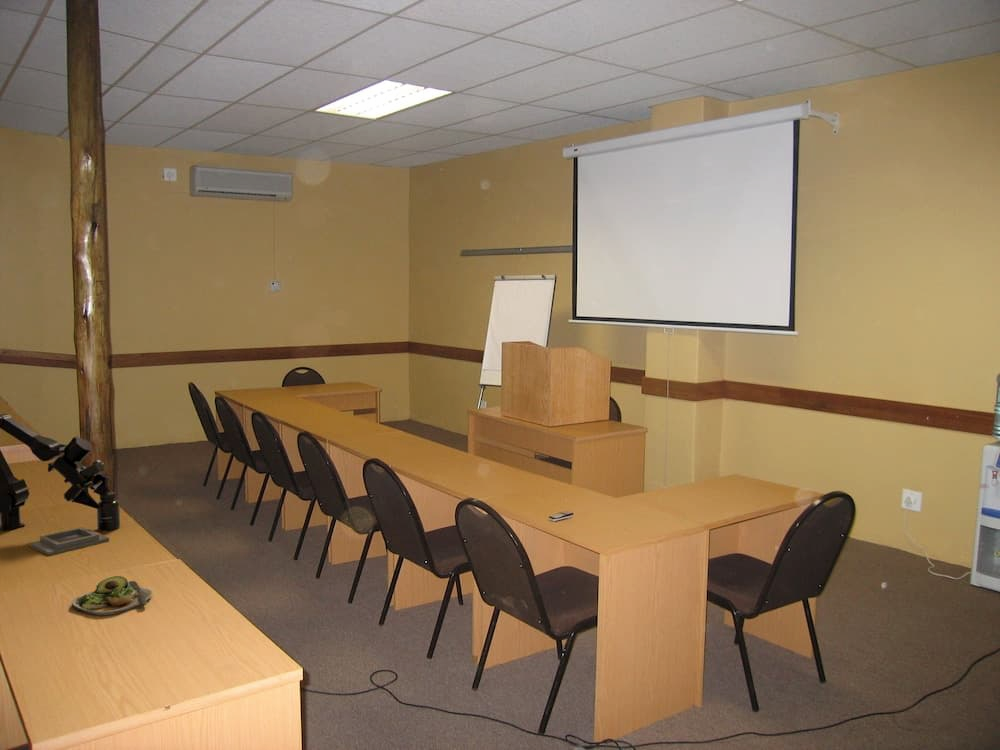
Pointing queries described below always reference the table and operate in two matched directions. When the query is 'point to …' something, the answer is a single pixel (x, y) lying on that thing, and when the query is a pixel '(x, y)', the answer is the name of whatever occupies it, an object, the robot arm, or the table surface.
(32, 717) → the table surface
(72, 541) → the grey recessed tray
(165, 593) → the table surface
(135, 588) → the salad plate
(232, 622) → the table surface
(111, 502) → the supplement bottle
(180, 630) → the table surface
